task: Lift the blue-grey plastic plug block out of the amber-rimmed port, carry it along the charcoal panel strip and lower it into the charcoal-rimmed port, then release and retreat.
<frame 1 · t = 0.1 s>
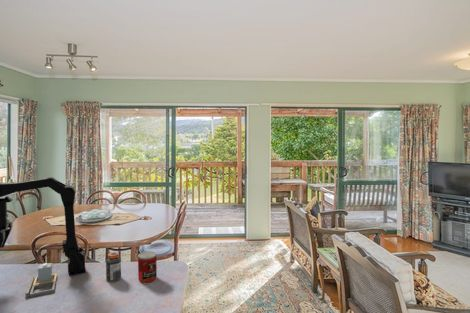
patch panel: (44, 285, 120), on the kitchen counter
pill bottle: (113, 279, 126), on the kitchen counter
plug: (45, 281, 123), resting in patch panel
canned food: (147, 279, 126), on the kitchen counter
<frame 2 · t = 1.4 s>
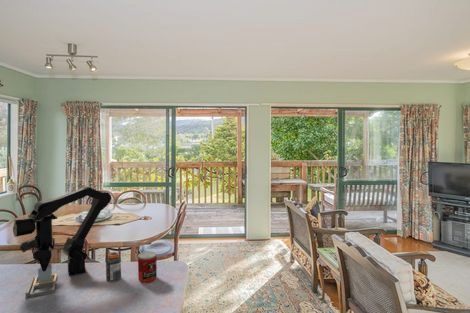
hand: (45, 267, 123), 6 cm above the kitchen counter, fingers open, 9 cm apart
nothing on the kitchen counter moved.
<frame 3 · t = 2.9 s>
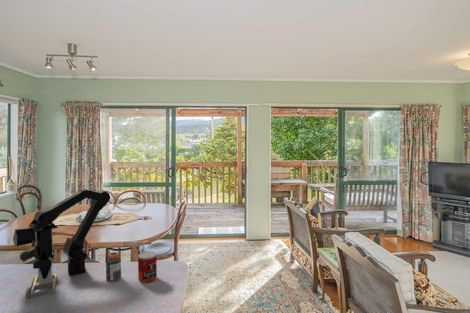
hand: (45, 276, 123), 2 cm above the kitchen counter, fingers closed on plug, 4 cm apart
plug: (45, 281, 123), resting in patch panel, touching gripper
everything else where it was.
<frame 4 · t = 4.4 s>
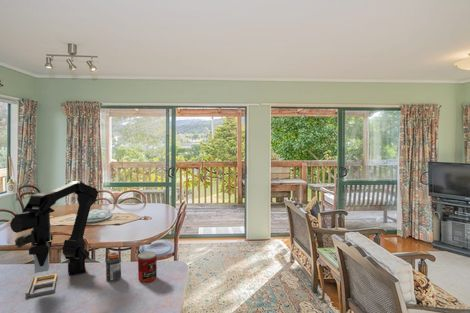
hand: (42, 263, 116), 11 cm above the kitchen counter, fingers closed on plug, 4 cm apart
plug: (42, 269, 116), point 8 cm above the kitchen counter, touching gripper
everything else where it was.
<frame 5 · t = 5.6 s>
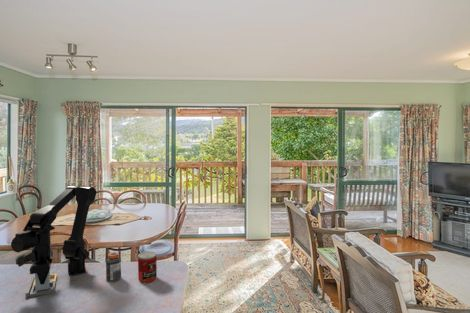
hand: (43, 281, 116), 4 cm above the kitchen counter, fingers closed on plug, 4 cm apart
plug: (42, 287, 116), point 1 cm above the kitchen counter, touching gripper
everything else where it was.
when the fingers open (3 cm above the kitchen counter, at t = 6.2 s): plug drops 1 cm, resting in patch panel.
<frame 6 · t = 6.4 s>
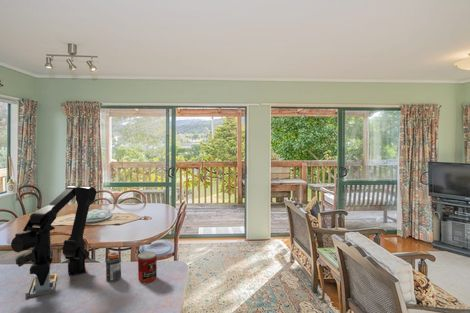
hand: (43, 281, 116), 3 cm above the kitchen counter, fingers open, 7 cm apart
plug: (43, 290, 116), resting in patch panel
everything else where it was.
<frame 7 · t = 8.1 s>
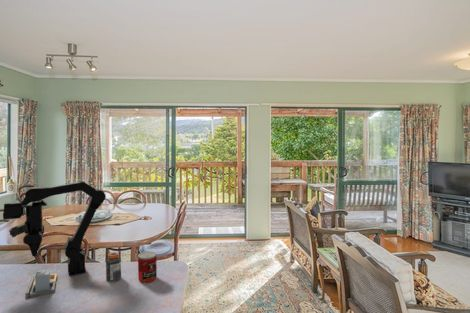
hand: (35, 252, 124), 12 cm above the kitchen counter, fingers open, 9 cm apart
nothing on the kitchen counter moved.
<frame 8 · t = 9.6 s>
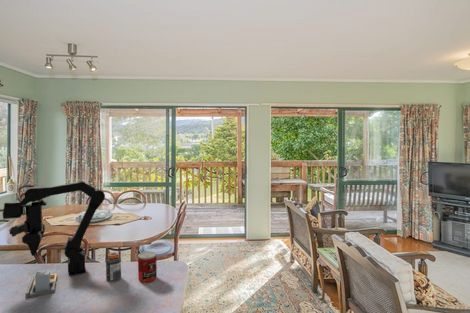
hand: (35, 251, 125), 12 cm above the kitchen counter, fingers open, 9 cm apart
nothing on the kitchen counter moved.
at the end: plug 0.1 cm from the target spot on the patch panel, point 0.0 cm above the patch panel's base; plug tilted 0°; the gripper is holding nothing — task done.
